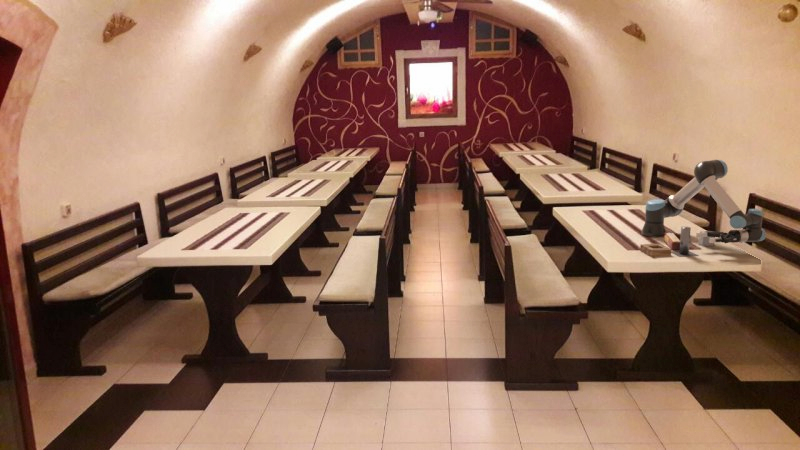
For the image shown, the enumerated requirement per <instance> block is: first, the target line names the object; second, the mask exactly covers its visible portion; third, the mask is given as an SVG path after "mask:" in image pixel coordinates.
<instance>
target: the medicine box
mask: <svg viewBox="0 0 800 450" xmlns="http://www.w3.org/2000/svg"><path fill="white" fill-rule="evenodd" d="M705 231H706V230H705ZM705 231H702V230H701V231H699V233H703V232H705ZM709 231H710V232H714V231H712V230H709ZM709 238H716V237H708V236H707V238H706V237H698V245H699V246H702V247H714V246H715V243H709Z"/></svg>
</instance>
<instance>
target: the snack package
mask: <svg viewBox="0 0 800 450" xmlns="http://www.w3.org/2000/svg"><path fill="white" fill-rule="evenodd" d="M663 241H664V243H666V245H667V246H668V248H670V249H671V251H679V250H680V239H679V238H678V237H677V236H676V234H675V233H673V232H666V234H665V235H664V236H663Z"/></svg>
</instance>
